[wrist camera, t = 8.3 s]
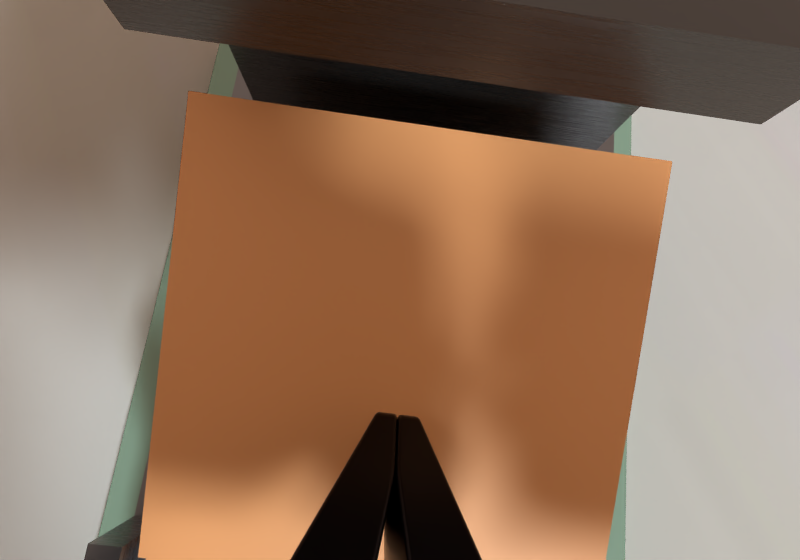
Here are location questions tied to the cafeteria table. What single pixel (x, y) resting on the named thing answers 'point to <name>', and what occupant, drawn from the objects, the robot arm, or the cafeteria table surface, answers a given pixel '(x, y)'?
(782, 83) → the grey stand
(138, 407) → the green flat slab
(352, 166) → the orange upright panel
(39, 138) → the cafeteria table surface
